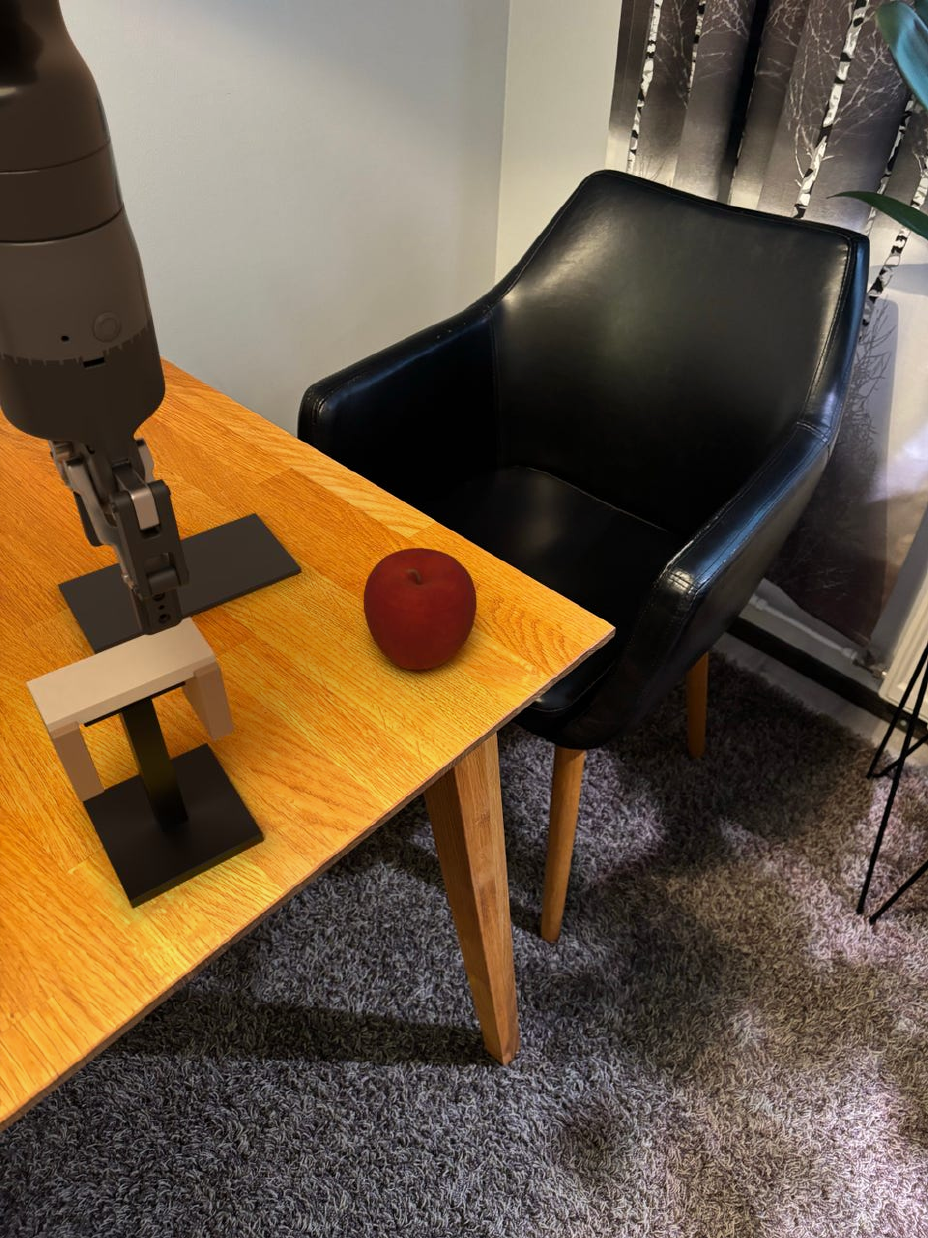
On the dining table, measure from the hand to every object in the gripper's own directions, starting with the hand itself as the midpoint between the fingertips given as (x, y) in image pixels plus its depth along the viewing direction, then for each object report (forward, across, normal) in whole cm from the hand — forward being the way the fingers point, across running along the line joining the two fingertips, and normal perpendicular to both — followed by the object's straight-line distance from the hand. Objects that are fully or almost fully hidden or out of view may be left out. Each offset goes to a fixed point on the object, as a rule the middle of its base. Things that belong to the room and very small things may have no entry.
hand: (133, 581), depth 55 cm
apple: (+24, -7, +24) cm, 35 cm away
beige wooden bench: (+15, -2, -2) cm, 15 cm away
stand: (+25, -2, -1) cm, 25 cm away
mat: (+25, -27, +9) cm, 38 cm away
